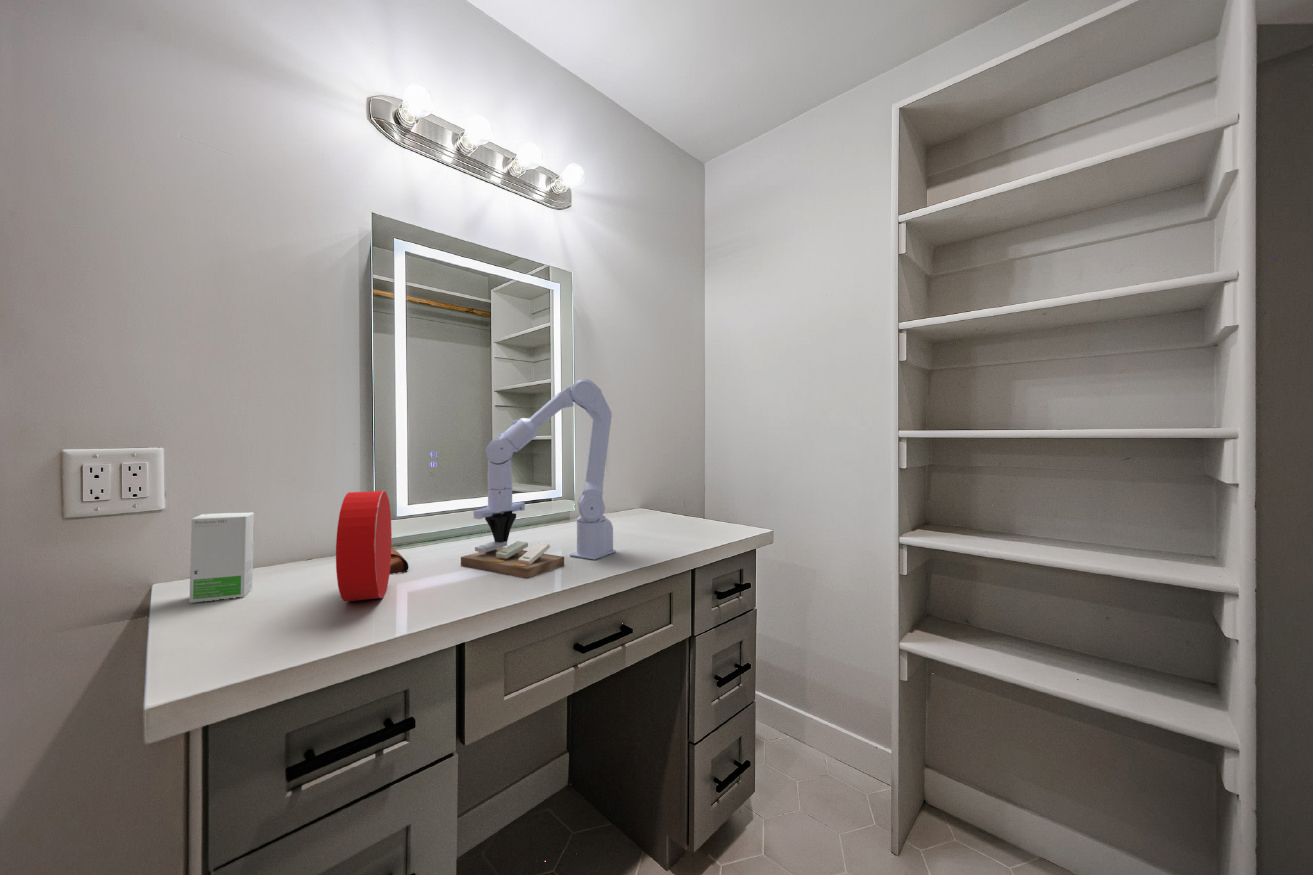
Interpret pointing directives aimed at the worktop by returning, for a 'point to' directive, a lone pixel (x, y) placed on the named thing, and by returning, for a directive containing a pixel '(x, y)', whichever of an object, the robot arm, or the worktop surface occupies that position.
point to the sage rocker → (512, 549)
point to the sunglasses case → (397, 562)
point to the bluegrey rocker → (490, 546)
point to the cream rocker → (534, 553)
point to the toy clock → (363, 546)
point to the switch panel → (512, 563)
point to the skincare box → (221, 556)
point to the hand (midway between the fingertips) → (500, 543)
